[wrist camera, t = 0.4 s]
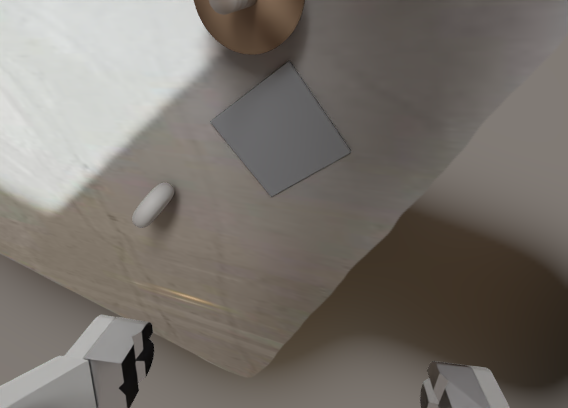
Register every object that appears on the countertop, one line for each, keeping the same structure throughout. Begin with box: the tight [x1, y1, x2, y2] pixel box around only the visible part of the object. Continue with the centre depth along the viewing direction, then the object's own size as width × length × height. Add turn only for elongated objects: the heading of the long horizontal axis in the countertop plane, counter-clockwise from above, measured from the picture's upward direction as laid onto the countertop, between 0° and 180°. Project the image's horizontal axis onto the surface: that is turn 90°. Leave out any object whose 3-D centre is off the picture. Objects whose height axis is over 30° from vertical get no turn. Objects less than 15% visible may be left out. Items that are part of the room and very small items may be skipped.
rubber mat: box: [210, 61, 351, 197], centre depth 61 cm, size 17×17×1 cm
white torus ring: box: [132, 182, 174, 228], centre depth 69 cm, size 10×4×10 cm, turn 142°
